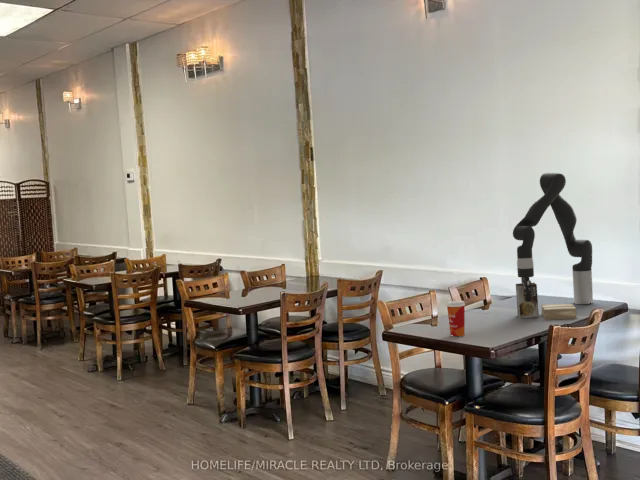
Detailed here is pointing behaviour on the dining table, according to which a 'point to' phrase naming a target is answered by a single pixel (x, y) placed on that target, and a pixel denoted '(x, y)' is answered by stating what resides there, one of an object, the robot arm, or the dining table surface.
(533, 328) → the dining table surface
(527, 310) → the coffee box
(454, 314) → the coffee cup
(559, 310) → the birch block
